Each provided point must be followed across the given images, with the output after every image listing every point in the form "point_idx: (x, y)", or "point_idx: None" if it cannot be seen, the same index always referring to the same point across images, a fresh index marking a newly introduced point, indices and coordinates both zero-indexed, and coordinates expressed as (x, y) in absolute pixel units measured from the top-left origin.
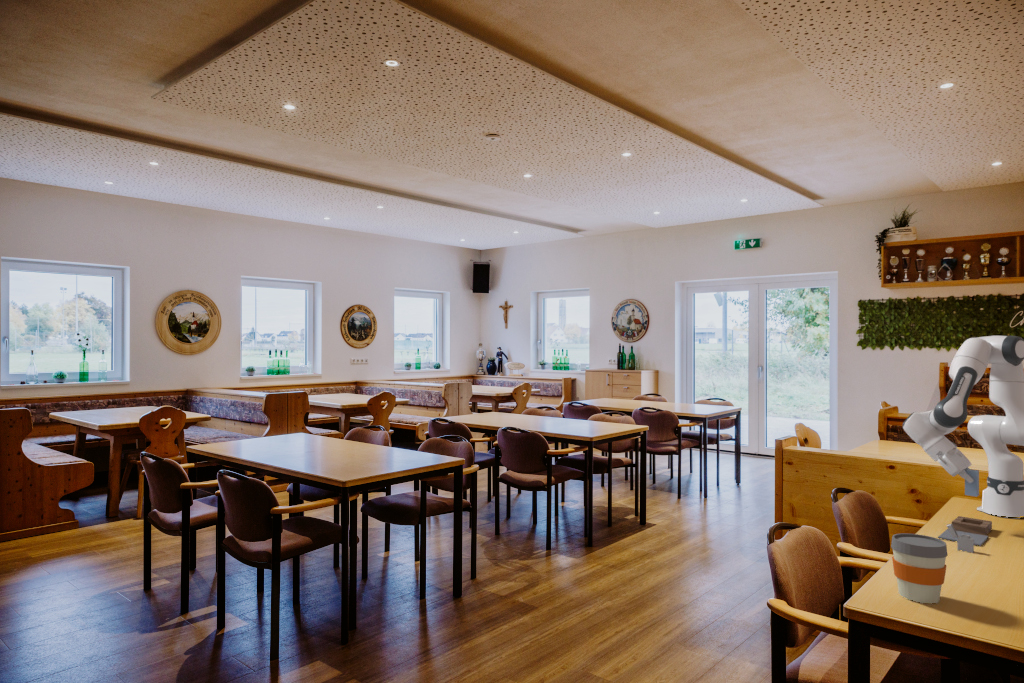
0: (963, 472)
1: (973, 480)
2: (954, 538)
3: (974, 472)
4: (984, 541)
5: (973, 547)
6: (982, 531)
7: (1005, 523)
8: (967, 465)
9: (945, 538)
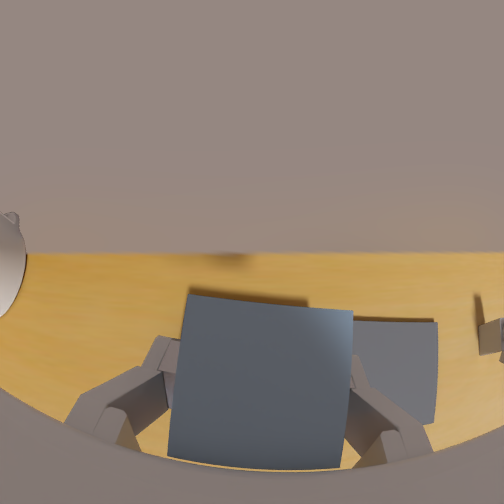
0: (420, 446)
1: (355, 356)
2: (424, 388)
3: (343, 345)
4: (389, 322)
5: (487, 323)
6: None
7: (78, 277)
8: (102, 455)
9: (434, 405)
